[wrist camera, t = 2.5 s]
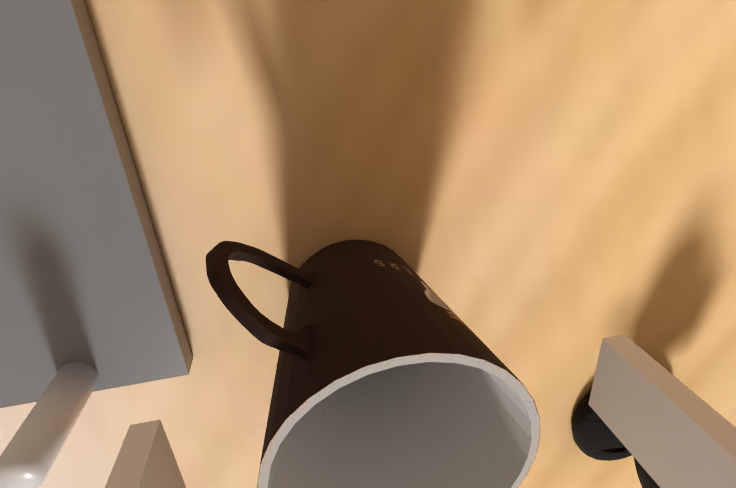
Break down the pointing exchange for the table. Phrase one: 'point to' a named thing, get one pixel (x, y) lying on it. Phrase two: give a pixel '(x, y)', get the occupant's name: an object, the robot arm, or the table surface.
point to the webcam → (602, 440)
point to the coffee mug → (378, 379)
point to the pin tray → (70, 238)
